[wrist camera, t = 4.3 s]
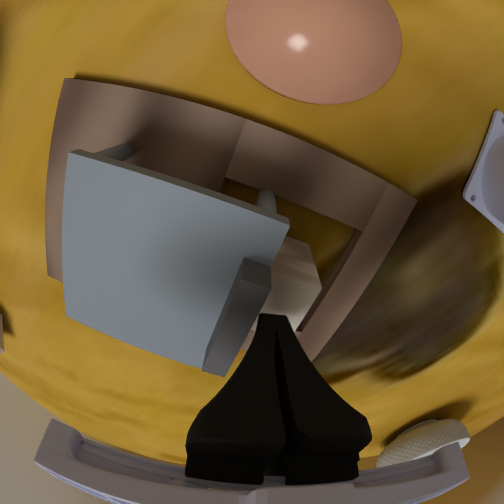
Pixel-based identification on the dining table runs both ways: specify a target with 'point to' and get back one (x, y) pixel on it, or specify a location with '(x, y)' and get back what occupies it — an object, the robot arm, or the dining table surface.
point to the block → (292, 282)
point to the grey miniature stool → (165, 259)
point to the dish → (316, 46)
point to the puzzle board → (233, 167)
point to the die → (1, 335)
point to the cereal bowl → (423, 441)
